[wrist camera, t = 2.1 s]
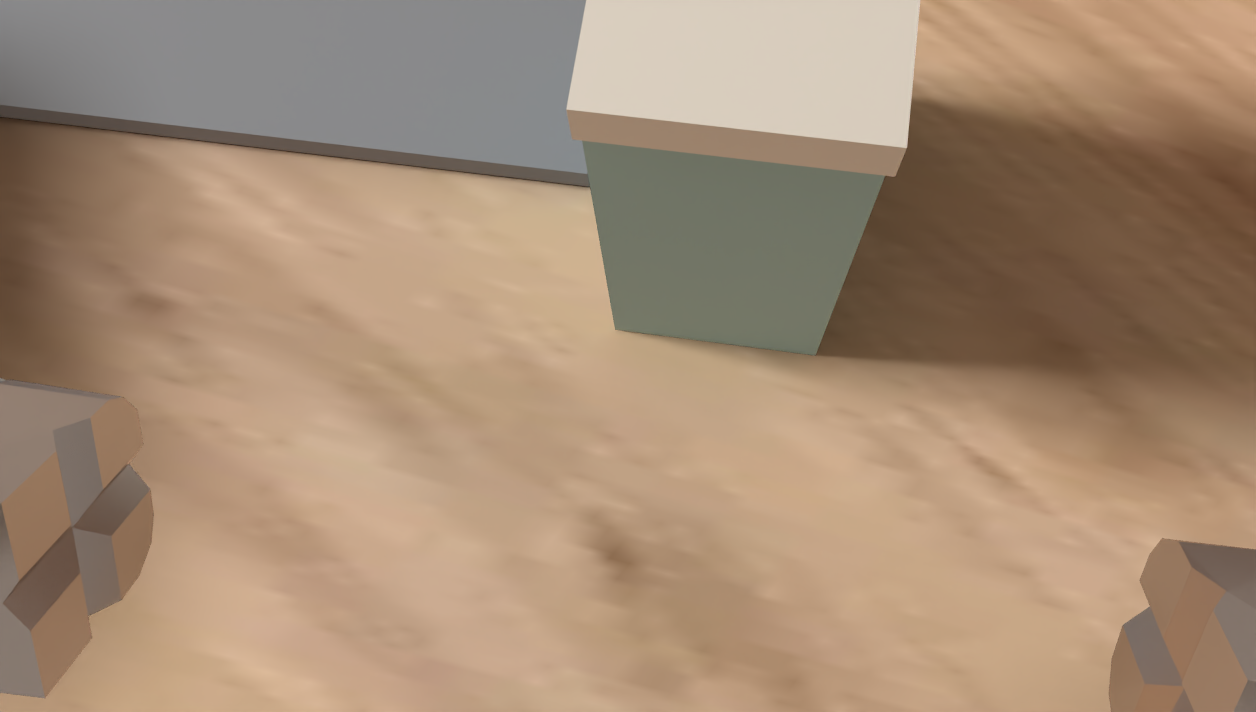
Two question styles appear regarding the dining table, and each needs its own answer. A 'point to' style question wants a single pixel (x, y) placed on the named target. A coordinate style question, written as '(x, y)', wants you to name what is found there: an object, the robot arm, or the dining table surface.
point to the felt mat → (310, 76)
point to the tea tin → (738, 156)
